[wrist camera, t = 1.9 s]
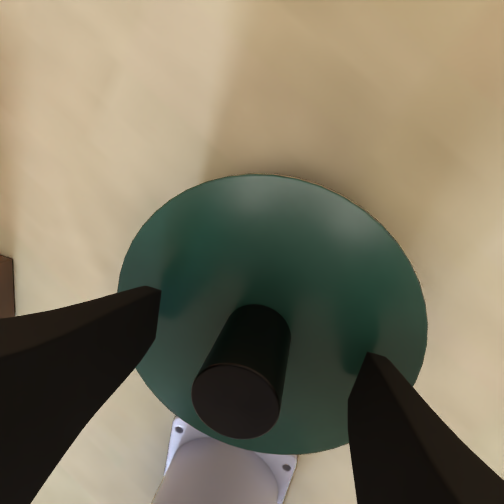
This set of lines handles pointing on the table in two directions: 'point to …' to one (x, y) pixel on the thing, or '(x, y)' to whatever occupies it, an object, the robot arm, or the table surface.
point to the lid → (272, 309)
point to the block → (6, 288)
